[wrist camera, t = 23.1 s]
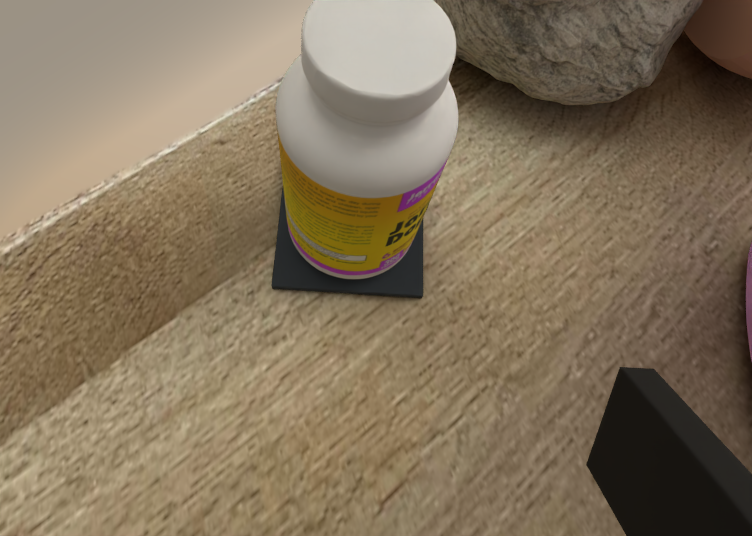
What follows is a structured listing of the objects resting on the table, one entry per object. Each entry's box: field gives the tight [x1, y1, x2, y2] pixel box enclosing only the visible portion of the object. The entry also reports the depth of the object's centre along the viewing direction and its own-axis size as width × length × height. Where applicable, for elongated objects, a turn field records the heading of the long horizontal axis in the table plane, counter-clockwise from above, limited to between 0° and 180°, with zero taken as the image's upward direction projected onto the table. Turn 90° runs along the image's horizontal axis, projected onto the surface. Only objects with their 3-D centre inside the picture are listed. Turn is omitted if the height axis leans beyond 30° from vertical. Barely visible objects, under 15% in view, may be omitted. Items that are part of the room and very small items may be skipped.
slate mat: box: [272, 187, 423, 298], centre depth 27 cm, size 8×8×1 cm
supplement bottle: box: [276, 0, 459, 279], centre depth 21 cm, size 7×7×13 cm
